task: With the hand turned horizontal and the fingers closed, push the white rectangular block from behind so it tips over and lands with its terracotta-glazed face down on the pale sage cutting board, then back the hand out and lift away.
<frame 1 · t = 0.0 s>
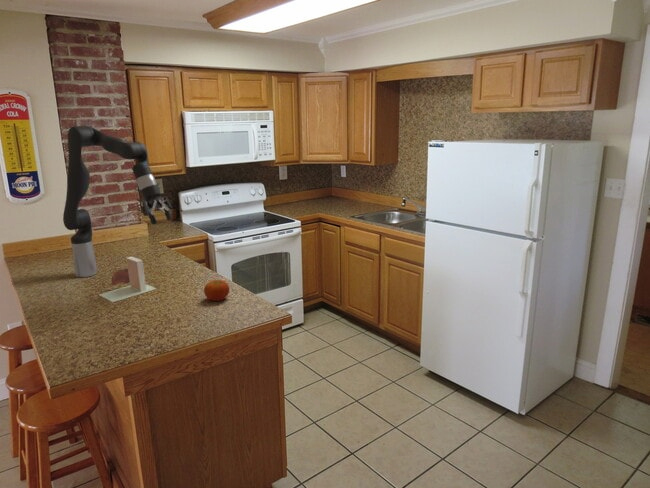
hand: (162, 221, 202), 31 cm above the table, tool tilted 20°, fingers open, 8 cm apart
cutting board: (128, 292, 207), on the table
wooden tablet: (124, 278, 230), on the table
fruit: (217, 299, 197), on the table
white rectangular block: (138, 288, 211), point 1 cm above the table, touching cutting board
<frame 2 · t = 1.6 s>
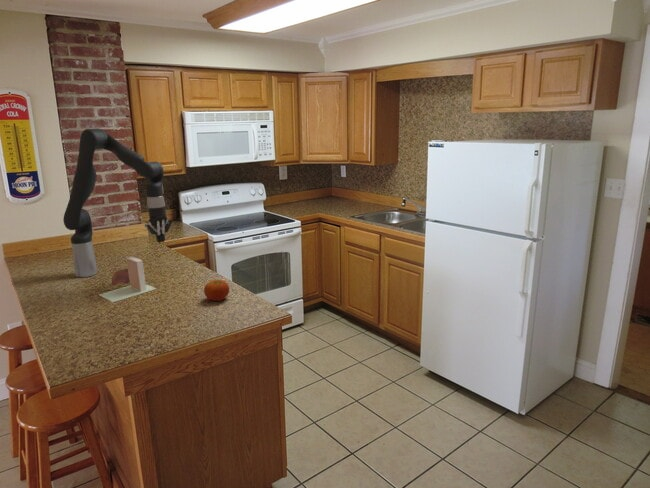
hand: (161, 242, 218), 19 cm above the table, tool pointing down, fingers closed
nothing on the table moved.
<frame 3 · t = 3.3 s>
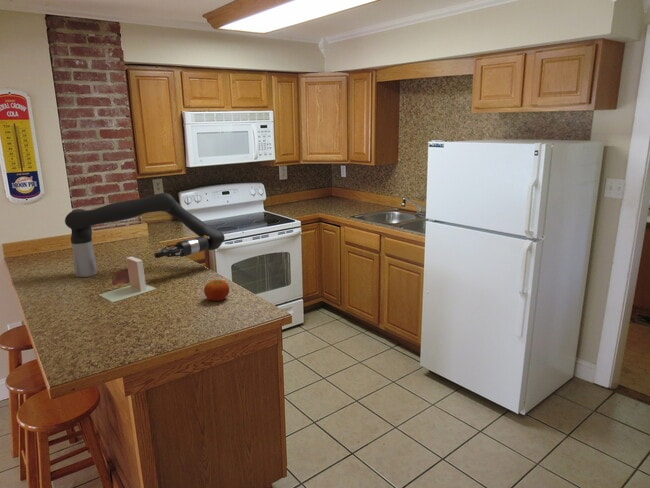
hand: (155, 255, 215), 14 cm above the table, tool horizontal, fingers closed
nothing on the table moved.
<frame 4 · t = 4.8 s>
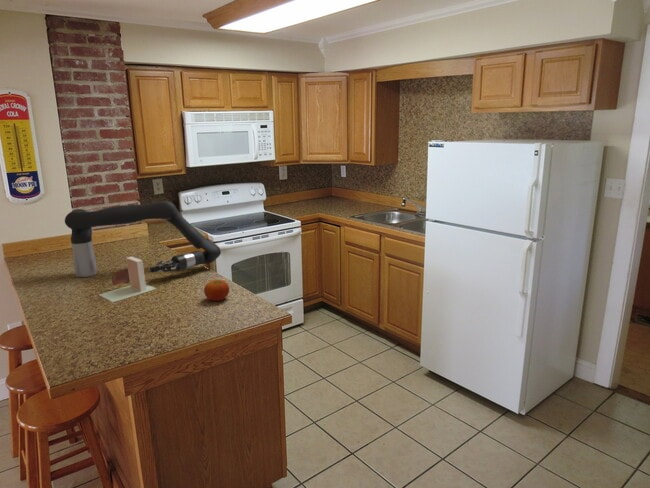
hand: (150, 270, 214), 7 cm above the table, tool horizontal, fingers closed
nothing on the table moved.
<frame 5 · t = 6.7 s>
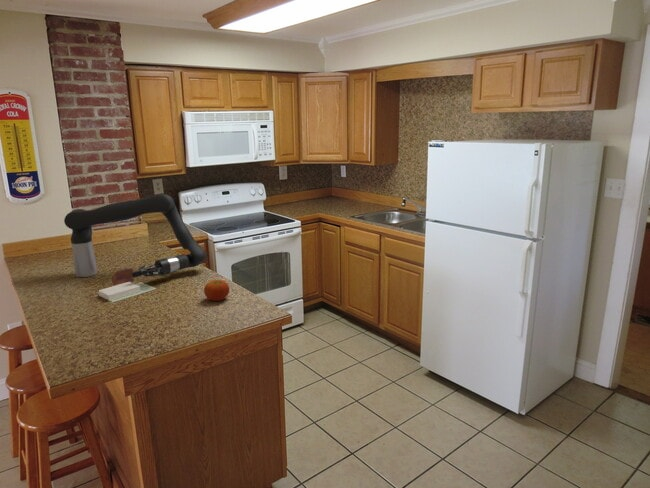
hand: (132, 275, 208), 7 cm above the table, tool horizontal, fingers closed
white rectangular block: (135, 286, 209), point 2 cm above the table, tilted 90°, touching cutting board
everything else where it was.
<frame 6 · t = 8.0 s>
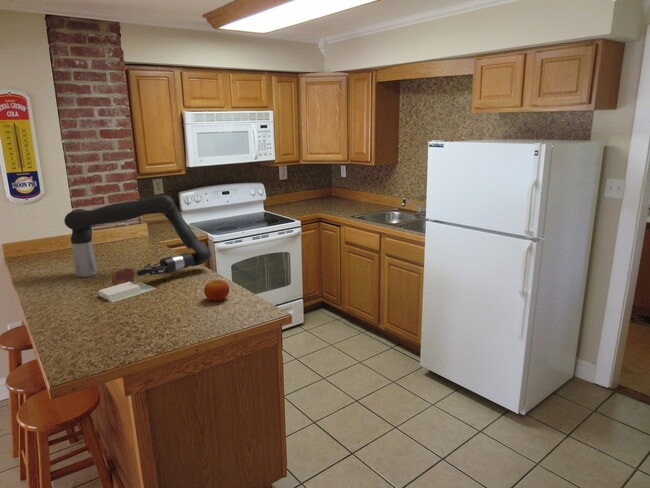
hand: (137, 273, 209), 8 cm above the table, tool horizontal, fingers closed
nothing on the table moved.
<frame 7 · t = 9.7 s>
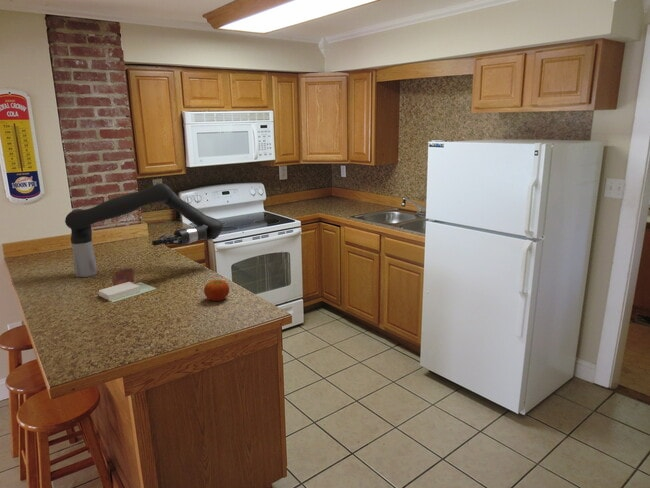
hand: (153, 243, 213), 20 cm above the table, tool horizontal, fingers closed
nothing on the table moved.
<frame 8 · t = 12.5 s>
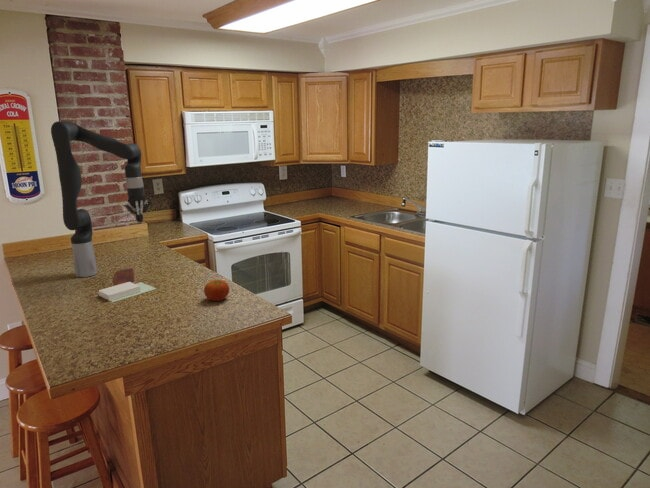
hand: (140, 221, 225), 27 cm above the table, tool pointing down, fingers closed
nothing on the table moved.
at the end: white rectangular block tilted 90°; white rectangular block 3.6 cm from the cutting board (horizontally); white rectangular block point 1.9 cm above the table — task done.
